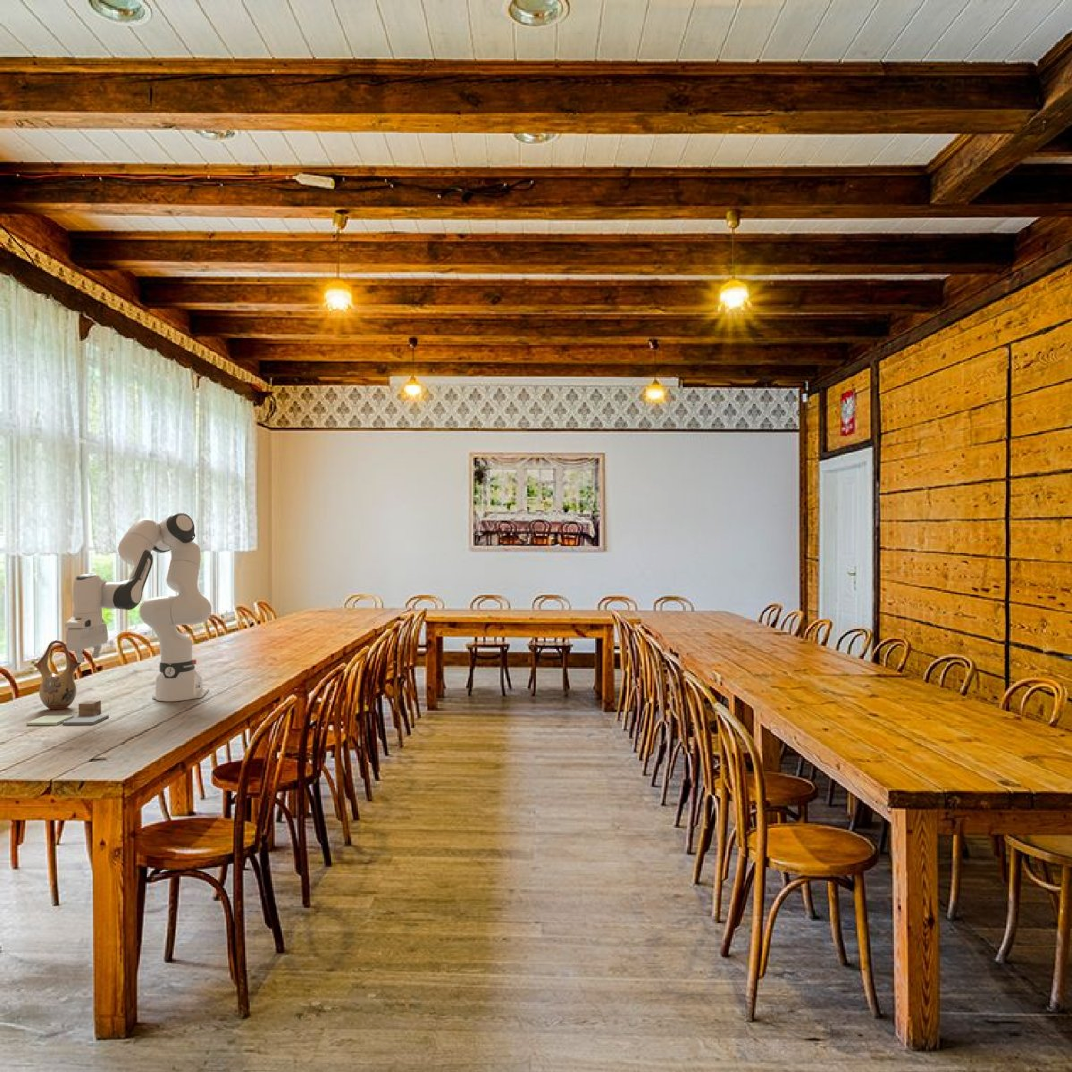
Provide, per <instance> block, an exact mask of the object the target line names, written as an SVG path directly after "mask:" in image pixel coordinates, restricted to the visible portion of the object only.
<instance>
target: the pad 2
mask: <svg viewBox="0 0 1072 1072" xmlns="http://www.w3.org/2000/svg"><path fill="white" fill-rule="evenodd" d="M109 715H110V714H101V715H79V714H78V715H77V716H74V718H72V719H69V720H67V721H65V722H63V723H62V726H93V724H94V725H96V724H98V723H100V722H99V721H101V722H103V721H105V720H106V718H107V719H109ZM97 722H98V723H97ZM95 723H96V724H95Z"/></svg>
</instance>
